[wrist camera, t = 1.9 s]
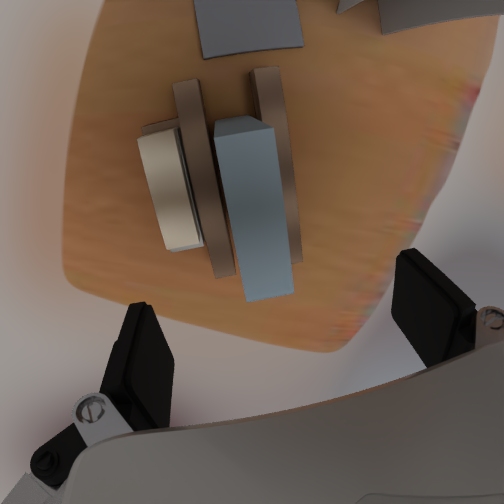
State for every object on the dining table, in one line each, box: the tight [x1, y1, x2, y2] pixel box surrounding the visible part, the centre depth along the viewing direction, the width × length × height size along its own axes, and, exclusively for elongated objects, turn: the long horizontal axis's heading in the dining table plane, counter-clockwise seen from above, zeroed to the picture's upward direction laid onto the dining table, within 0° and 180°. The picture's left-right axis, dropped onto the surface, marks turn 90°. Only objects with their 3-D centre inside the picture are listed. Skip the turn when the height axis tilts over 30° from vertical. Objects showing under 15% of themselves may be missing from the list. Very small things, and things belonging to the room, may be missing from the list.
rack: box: [172, 66, 303, 279], centre depth 28 cm, size 18×8×4 cm, turn 9°
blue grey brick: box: [214, 115, 294, 302], centre depth 23 cm, size 10×3×14 cm, turn 9°
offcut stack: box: [137, 118, 206, 252], centre depth 27 cm, size 12×4×5 cm, turn 9°
